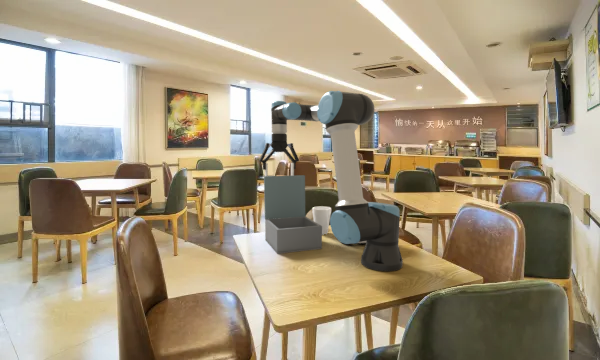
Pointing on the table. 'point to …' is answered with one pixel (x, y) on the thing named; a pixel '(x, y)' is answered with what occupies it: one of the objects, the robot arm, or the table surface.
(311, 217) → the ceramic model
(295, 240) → the carton
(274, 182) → the lid flap
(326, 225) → the foam cup
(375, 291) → the table surface
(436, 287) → the table surface
